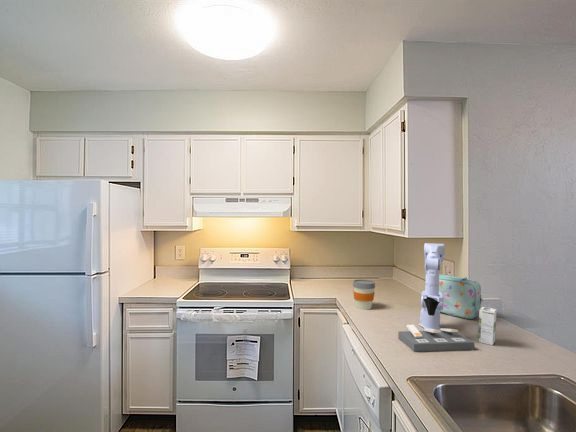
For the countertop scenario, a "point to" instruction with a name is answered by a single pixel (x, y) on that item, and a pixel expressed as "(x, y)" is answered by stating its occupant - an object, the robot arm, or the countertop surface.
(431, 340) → the power strip
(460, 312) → the lunch box
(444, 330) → the rocker
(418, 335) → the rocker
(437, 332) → the rocker middle
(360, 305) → the reusable coffee cup
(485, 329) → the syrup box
